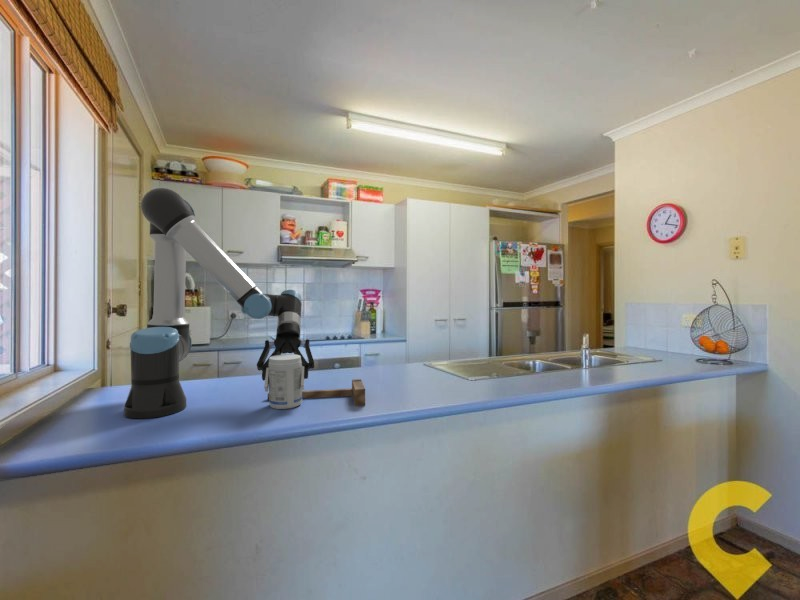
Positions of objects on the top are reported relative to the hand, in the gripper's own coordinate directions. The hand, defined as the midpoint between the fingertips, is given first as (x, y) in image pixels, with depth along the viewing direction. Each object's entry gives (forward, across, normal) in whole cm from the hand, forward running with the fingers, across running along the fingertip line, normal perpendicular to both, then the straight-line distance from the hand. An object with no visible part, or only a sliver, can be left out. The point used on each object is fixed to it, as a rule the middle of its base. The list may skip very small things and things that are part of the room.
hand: (284, 388), depth 112 cm
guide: (+1, -9, -7) cm, 12 cm away
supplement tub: (+2, 0, -6) cm, 7 cm away
